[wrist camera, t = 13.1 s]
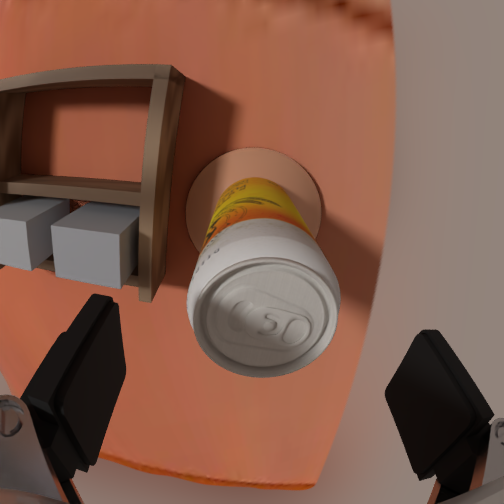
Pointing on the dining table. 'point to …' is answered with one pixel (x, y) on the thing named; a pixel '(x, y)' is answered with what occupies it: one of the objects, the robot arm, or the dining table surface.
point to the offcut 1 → (29, 229)
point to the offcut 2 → (97, 243)
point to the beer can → (261, 285)
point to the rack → (102, 190)
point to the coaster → (246, 166)
